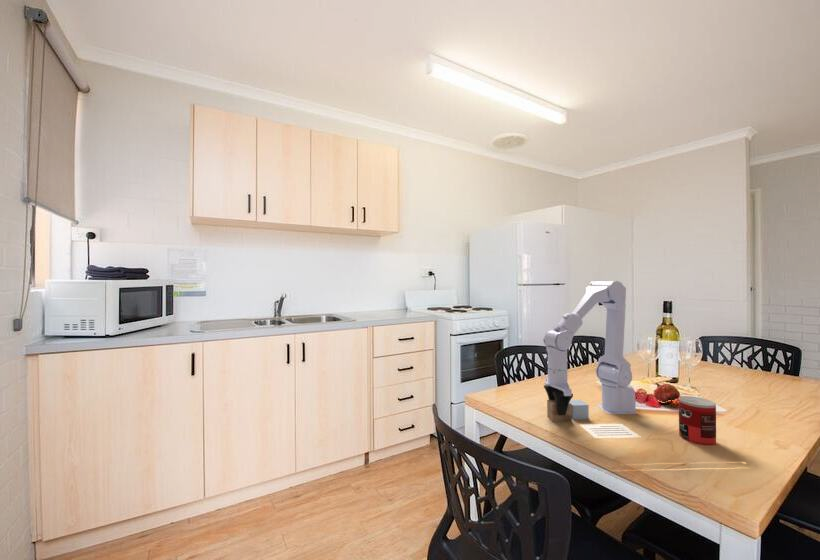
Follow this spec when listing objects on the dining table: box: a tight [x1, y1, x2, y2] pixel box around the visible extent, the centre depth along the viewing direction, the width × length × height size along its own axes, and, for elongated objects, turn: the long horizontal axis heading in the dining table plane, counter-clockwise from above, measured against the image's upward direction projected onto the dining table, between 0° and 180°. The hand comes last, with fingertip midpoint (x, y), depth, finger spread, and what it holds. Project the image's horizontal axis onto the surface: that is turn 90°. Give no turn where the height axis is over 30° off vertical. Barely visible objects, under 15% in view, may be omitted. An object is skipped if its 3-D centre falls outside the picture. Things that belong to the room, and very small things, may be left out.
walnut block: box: [546, 399, 573, 423], centre depth 111 cm, size 6×4×6 cm, turn 91°
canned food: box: [678, 395, 717, 446], centre depth 97 cm, size 8×8×11 cm
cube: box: [570, 399, 590, 420], centre depth 113 cm, size 5×5×5 cm
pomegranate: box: [653, 382, 681, 403], centre depth 124 cm, size 7×7×10 cm
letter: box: [579, 423, 641, 439], centre depth 103 cm, size 13×9×1 cm
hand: (558, 411), depth 111 cm, fingers open, 5 cm apart
